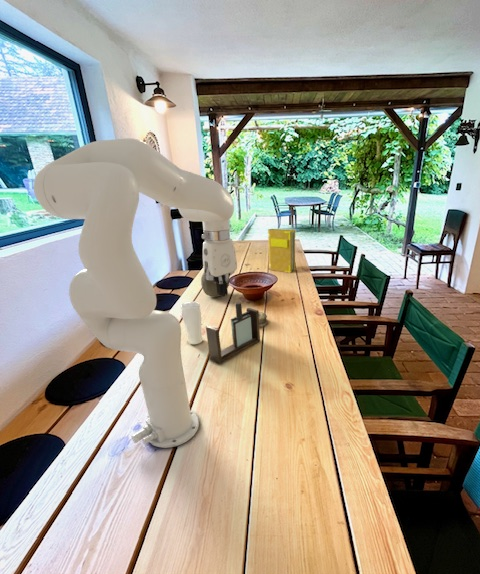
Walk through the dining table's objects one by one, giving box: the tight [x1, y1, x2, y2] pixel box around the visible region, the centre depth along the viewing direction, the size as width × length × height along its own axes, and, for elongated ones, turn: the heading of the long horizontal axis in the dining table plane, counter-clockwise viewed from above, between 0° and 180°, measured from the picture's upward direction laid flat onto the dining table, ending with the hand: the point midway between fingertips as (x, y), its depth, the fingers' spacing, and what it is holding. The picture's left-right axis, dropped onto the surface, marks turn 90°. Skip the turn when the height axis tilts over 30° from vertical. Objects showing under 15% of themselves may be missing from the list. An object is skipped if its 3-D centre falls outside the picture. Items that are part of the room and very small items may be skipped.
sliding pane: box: [232, 301, 252, 348], centre depth 112 cm, size 8×2×16 cm, turn 139°
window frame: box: [205, 307, 261, 365], centre depth 112 cm, size 20×5×12 cm, turn 139°
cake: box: [259, 311, 268, 328], centre depth 134 cm, size 10×10×5 cm
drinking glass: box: [180, 301, 203, 345], centre depth 119 cm, size 7×7×15 cm
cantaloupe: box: [200, 271, 231, 298], centre depth 164 cm, size 14×14×15 cm
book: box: [267, 228, 296, 274], centre depth 202 cm, size 17×7×25 cm, turn 58°
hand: (222, 294), depth 102 cm, fingers closed
